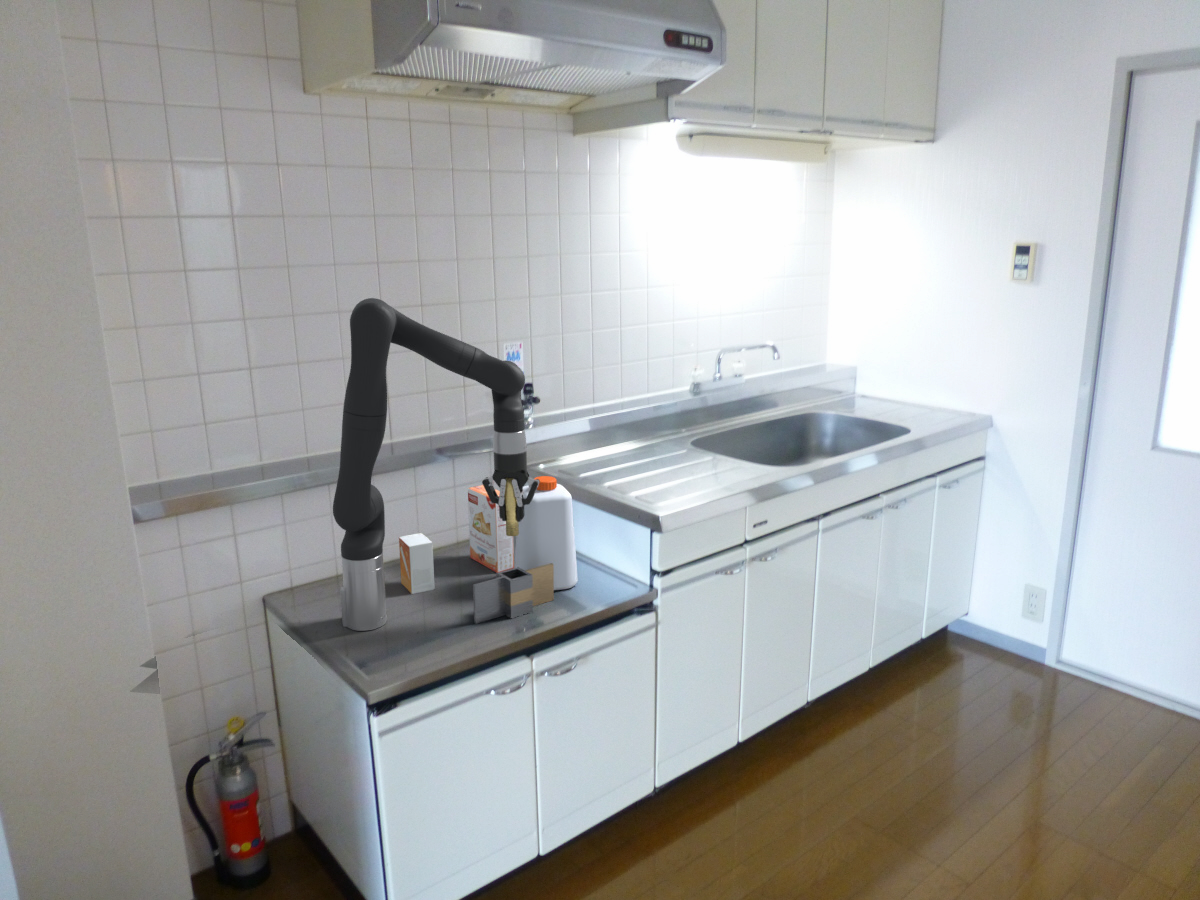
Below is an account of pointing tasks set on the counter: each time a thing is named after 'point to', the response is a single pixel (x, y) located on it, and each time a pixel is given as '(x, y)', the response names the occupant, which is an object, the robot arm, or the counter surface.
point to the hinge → (513, 592)
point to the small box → (416, 563)
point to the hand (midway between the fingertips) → (512, 520)
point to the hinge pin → (511, 510)
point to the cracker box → (488, 532)
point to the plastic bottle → (548, 533)
